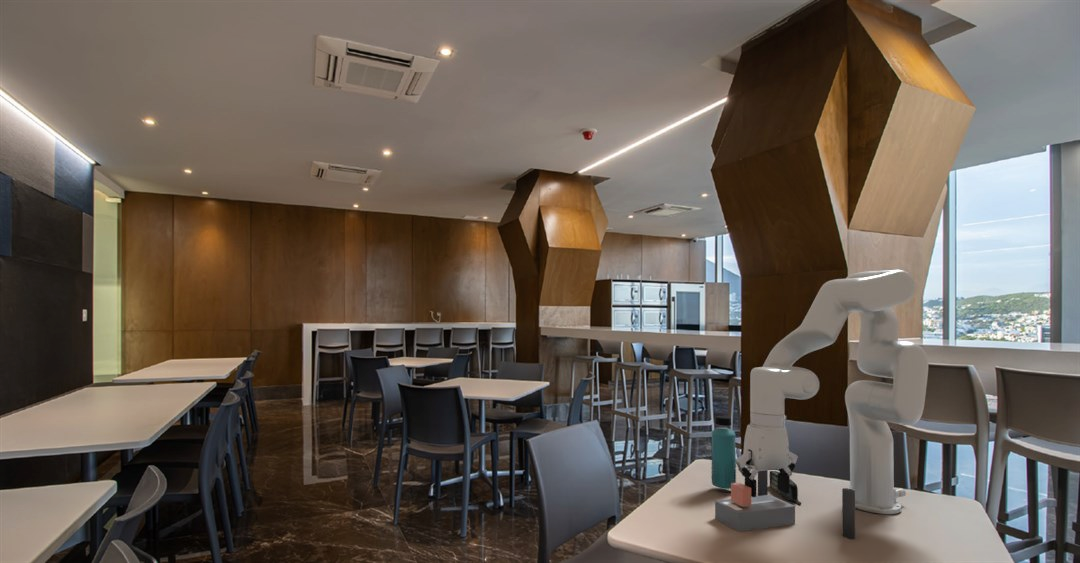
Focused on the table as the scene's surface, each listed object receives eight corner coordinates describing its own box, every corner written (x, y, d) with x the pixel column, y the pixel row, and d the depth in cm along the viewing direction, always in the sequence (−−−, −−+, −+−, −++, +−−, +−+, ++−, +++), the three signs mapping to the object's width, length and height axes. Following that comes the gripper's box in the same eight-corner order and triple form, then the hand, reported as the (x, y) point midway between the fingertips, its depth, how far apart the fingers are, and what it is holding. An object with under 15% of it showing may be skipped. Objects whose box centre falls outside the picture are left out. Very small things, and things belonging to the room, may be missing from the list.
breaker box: (769, 511, 131) (769, 494, 131) (795, 523, 124) (795, 505, 124) (715, 518, 126) (715, 500, 126) (738, 531, 118) (738, 512, 118)
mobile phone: (767, 469, 151) (792, 485, 136) (778, 469, 151) (804, 485, 136) (767, 487, 151) (792, 505, 136) (778, 487, 151) (804, 505, 136)
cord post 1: (762, 495, 143) (763, 456, 144) (769, 498, 141) (769, 459, 141) (755, 495, 142) (755, 457, 143) (762, 498, 140) (762, 460, 141)
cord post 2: (848, 533, 119) (847, 487, 119) (857, 538, 116) (857, 491, 117) (839, 535, 118) (839, 488, 118) (849, 539, 115) (849, 492, 116)
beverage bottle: (738, 495, 142) (738, 419, 143) (712, 493, 143) (712, 417, 144) (734, 487, 148) (734, 414, 149) (709, 485, 150) (709, 413, 151)
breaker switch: (739, 499, 126) (739, 482, 126) (751, 505, 122) (751, 488, 122) (730, 500, 125) (730, 483, 125) (742, 506, 121) (742, 488, 122)
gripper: (783, 415, 133) (784, 485, 133) (726, 418, 128) (726, 491, 127) (808, 421, 126) (808, 495, 125) (748, 425, 121) (748, 502, 120)
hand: (767, 493), depth 126 cm, fingers open, 9 cm apart
